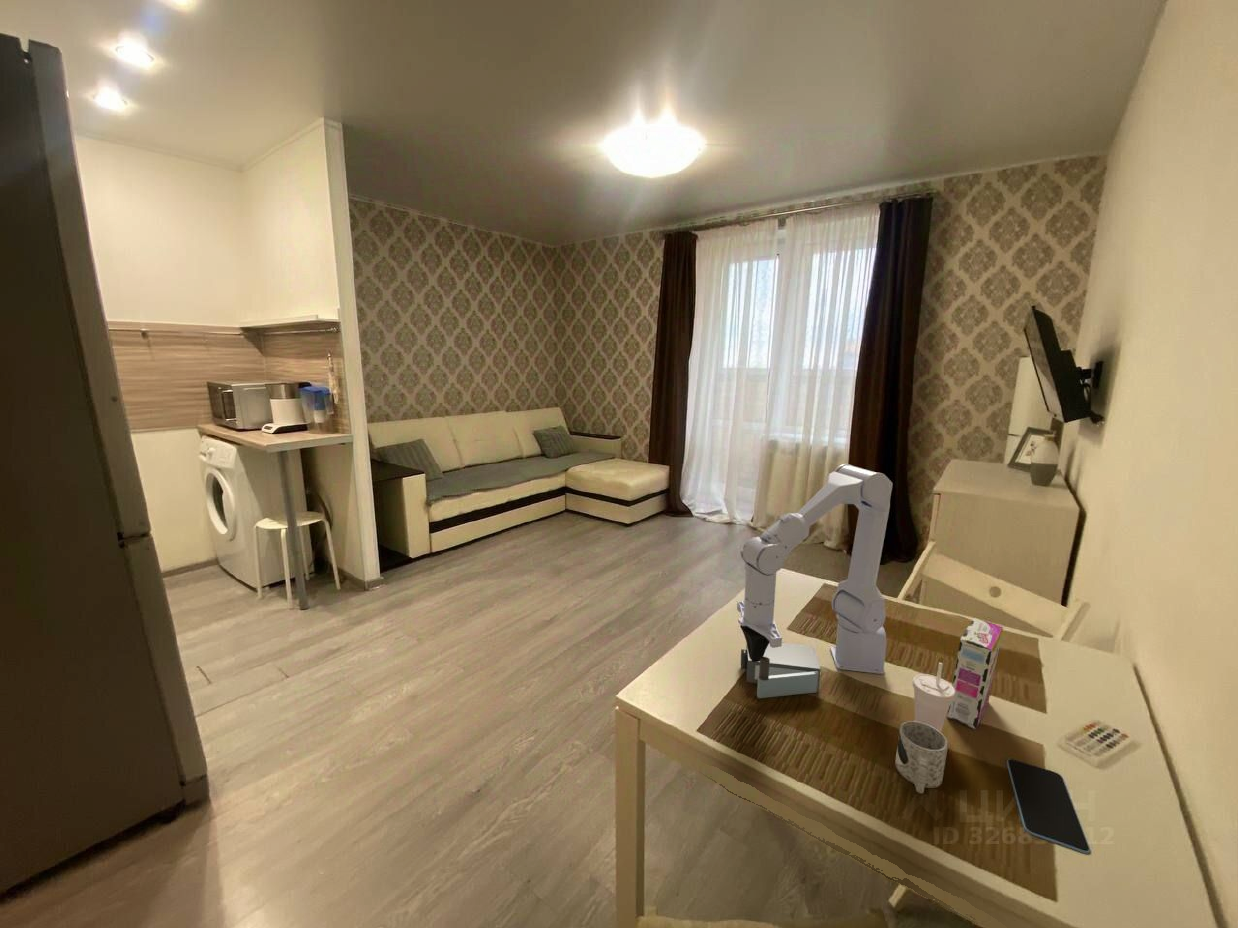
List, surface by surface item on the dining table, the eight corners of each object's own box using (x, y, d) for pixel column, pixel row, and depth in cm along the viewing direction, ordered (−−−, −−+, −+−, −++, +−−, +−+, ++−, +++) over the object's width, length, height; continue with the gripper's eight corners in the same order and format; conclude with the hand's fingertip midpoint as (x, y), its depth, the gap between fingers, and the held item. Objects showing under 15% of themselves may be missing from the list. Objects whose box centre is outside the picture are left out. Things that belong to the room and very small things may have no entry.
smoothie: (954, 748, 86) (966, 676, 83) (913, 743, 87) (923, 672, 84) (939, 722, 92) (949, 654, 89) (901, 717, 93) (910, 650, 90)
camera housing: (812, 666, 108) (813, 646, 107) (818, 690, 100) (820, 668, 99) (740, 658, 111) (741, 638, 110) (741, 681, 103) (742, 659, 102)
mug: (895, 748, 86) (900, 715, 84) (941, 764, 82) (947, 730, 81) (893, 792, 77) (898, 755, 76) (944, 811, 74) (950, 773, 73)
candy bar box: (978, 731, 89) (992, 650, 86) (945, 717, 93) (958, 638, 89) (990, 701, 97) (1004, 625, 93) (960, 689, 100) (972, 615, 97)
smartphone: (1025, 830, 71) (1005, 755, 83) (1024, 835, 71) (1004, 760, 84) (1094, 854, 67) (1062, 772, 80) (1093, 859, 67) (1061, 777, 80)
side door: (814, 688, 101) (817, 651, 99) (818, 694, 99) (822, 656, 97) (755, 694, 99) (758, 657, 97) (759, 700, 97) (761, 662, 95)
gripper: (724, 583, 104) (722, 642, 107) (758, 619, 90) (755, 684, 93) (755, 580, 106) (752, 637, 109) (793, 614, 92) (789, 679, 95)
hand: (755, 659), depth 101 cm, fingers closed
